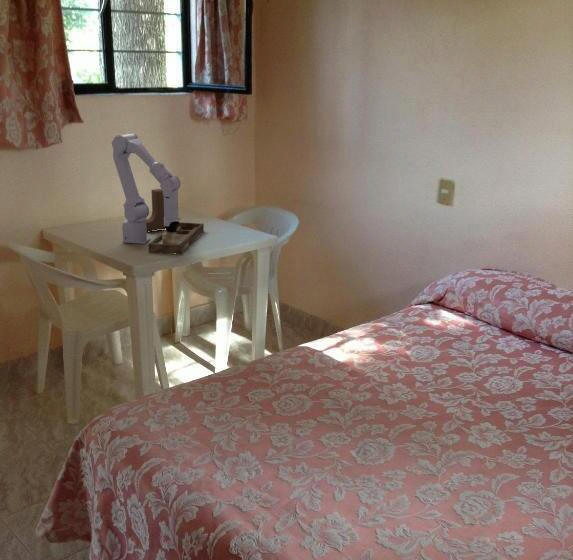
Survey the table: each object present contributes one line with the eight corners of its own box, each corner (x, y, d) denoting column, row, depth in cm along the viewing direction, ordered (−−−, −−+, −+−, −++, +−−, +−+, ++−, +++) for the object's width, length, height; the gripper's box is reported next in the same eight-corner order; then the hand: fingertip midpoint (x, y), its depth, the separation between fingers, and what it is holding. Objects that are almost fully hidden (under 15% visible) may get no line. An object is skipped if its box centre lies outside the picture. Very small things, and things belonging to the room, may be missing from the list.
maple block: (162, 245, 264) (162, 234, 263) (165, 242, 268) (165, 231, 267) (173, 246, 264) (173, 235, 262) (176, 243, 268) (176, 232, 266)
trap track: (149, 252, 262) (148, 243, 260) (175, 229, 296) (175, 221, 295) (180, 254, 260) (180, 245, 259) (203, 231, 295) (203, 223, 294)
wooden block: (147, 232, 290) (145, 192, 284) (143, 230, 293) (141, 190, 287) (166, 230, 295) (164, 190, 289) (161, 228, 298) (160, 188, 292)
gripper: (175, 211, 258) (176, 244, 262) (185, 203, 271) (186, 235, 276) (158, 210, 258) (159, 243, 263) (169, 202, 272) (169, 234, 276)
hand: (172, 239), depth 269 cm, fingers closed
